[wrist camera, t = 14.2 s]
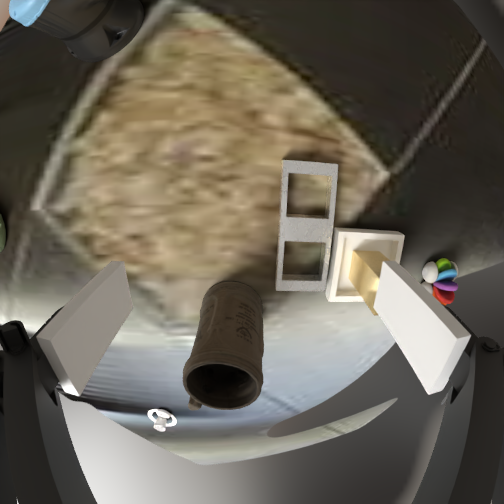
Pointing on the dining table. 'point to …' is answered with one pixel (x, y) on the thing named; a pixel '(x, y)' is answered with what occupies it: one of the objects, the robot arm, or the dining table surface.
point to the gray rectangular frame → (305, 227)
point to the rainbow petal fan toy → (441, 280)
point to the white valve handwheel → (161, 419)
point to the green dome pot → (2, 233)
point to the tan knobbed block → (366, 274)
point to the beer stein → (226, 349)
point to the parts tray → (342, 255)
